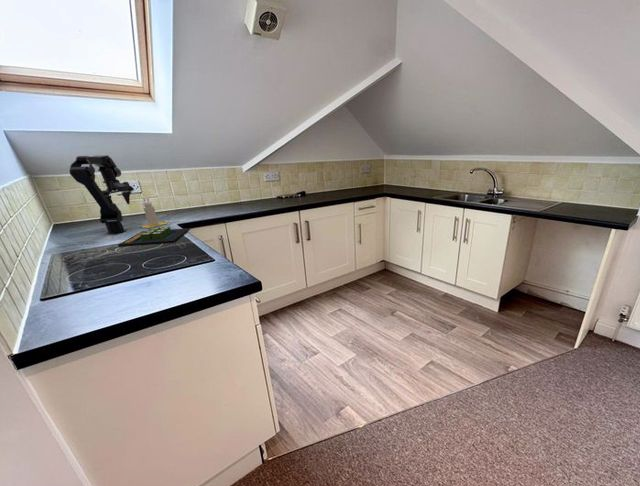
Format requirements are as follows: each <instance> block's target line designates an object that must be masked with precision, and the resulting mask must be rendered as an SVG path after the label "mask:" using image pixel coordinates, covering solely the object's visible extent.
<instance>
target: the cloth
mask: <svg viewBox="0 0 640 486" xmlns="http://www.w3.org/2000/svg"><path fill="white" fill-rule="evenodd" d="M158 222H159V225H156V226H149V224H145V225H142V226H140V228H142V229H151V228H158V227H160V226H165V225H168V224H169V223H168V222H162V221H158Z"/></svg>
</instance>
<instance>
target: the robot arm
mask: <svg viewBox="0 0 640 486" xmlns="http://www.w3.org/2000/svg"><path fill="white" fill-rule="evenodd" d="M82 165H83V166H82ZM84 165H88V166H84ZM93 165H94V166H96V167H97V168H98V172H100V175H101V178H102V179H103V181H102V183H103V184H105V186H106V188H105V189H103V190H102V189H101V188H100V186H99V185H98V184H97V182H96V174H95V173H96V168H95V167H94V166H93ZM69 174H70V176H71V177H72V178H73V179H74V180H75V181H76V182H77V183H79V184H81V185H83V186H84V188H85V189H86V190H87V191H88V193H89V194H90V196H91V197H92V198H93V199H94V201H95V202H96V204H97V205H98V206H99V207H100V209H99V213H100V217H99V221H100V223H101V224H104V225H105V227H106V231H107V232H106V234H107V235H108V234H109V235H116V234H121V233H125V232H126V229H124V228H125V227H124V225H123V223H122V221H123V214H122V211H121V210H120V208H119V207H118V206H117V204H116V203H114V202H113V200H112V194H116V193H121V195H122V197H123V199H124V201H125V202H126V204H127V205H130V203H131V201H130V197H131V194H132V193H133V191H135V190H134V187H133V186H132V185H130V183H129V182H128V181H123V182H120V180H119V179H117V178H120V177H121V175H122V171H121V170H120V169H119V167H118V166H117V164H116V163H115V162H114V160H113V159H112V157H110V156H109V155H107V154H106V155H93V156H92V155H91V156H89V155H78V156H76V157H75V160H74V161H73V162H72V163H71V164H70V166H69Z"/></svg>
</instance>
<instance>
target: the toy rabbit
mask: <svg viewBox="0 0 640 486" xmlns="http://www.w3.org/2000/svg"><path fill="white" fill-rule="evenodd" d="M142 200H143V203H142V205H143V206H144V207H143V211H144V215H145V217H146V221H147V223H148V224H147V225H149V226H156V225H159V222H160V221H159V219H158V216H157V213H156V210H155V207H154V206H153V204H152V202H151V201H150V199H149V197H143V198H142Z"/></svg>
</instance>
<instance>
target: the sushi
mask: <svg viewBox="0 0 640 486" xmlns="http://www.w3.org/2000/svg"><path fill="white" fill-rule="evenodd" d="M190 230H191V228H189V227H188V228H173V229H172V228H171V226H162V227H160V226H158V227H152V228H148V230H141V231H140V232H139V233H136V234H135V235H133V236H131V237H129V238H127V239H126V240H124V241H122V242H121V243H119V244H117V245H118V247H132V246H143V245H157V244H169V243H175V242H177V241H178V240H179V239H181V237H183V236H184V235H185V234H187V233H188V232H190Z"/></svg>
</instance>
